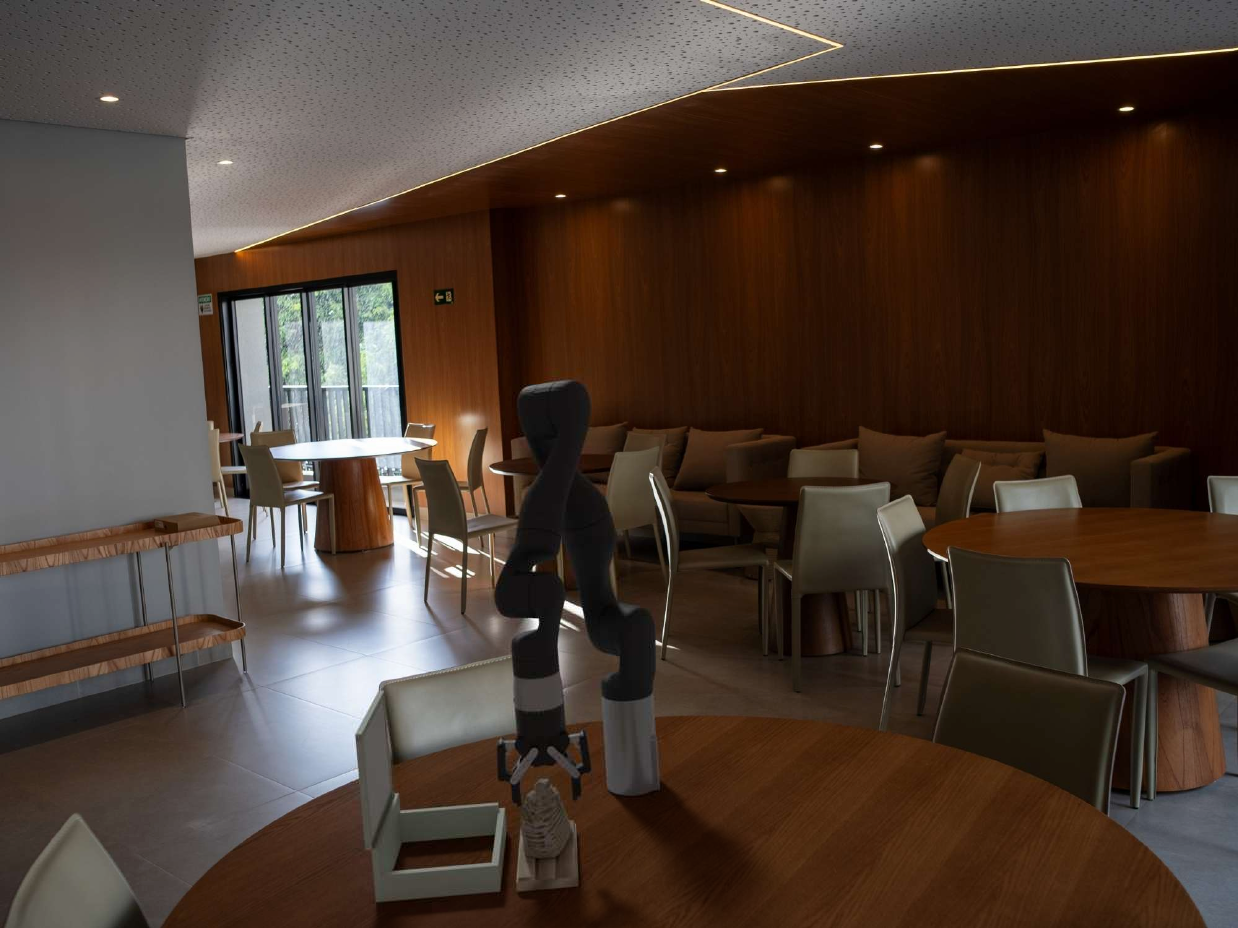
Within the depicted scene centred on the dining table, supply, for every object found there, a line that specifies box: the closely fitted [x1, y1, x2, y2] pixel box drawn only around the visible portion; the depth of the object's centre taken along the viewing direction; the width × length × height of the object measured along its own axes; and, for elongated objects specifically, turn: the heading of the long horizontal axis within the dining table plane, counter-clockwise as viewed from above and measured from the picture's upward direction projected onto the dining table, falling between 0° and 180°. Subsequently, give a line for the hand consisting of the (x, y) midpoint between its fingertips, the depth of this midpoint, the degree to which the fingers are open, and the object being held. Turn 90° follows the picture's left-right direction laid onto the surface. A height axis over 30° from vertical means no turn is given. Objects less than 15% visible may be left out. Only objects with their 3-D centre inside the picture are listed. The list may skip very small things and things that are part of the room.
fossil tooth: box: [520, 777, 572, 859], centre depth 155 cm, size 12×6×15 cm
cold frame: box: [354, 690, 507, 903], centre depth 154 cm, size 19×19×25 cm
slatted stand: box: [516, 819, 580, 892], centre depth 155 cm, size 9×17×2 cm, turn 3°
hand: (547, 801), depth 154 cm, fingers open, 8 cm apart
